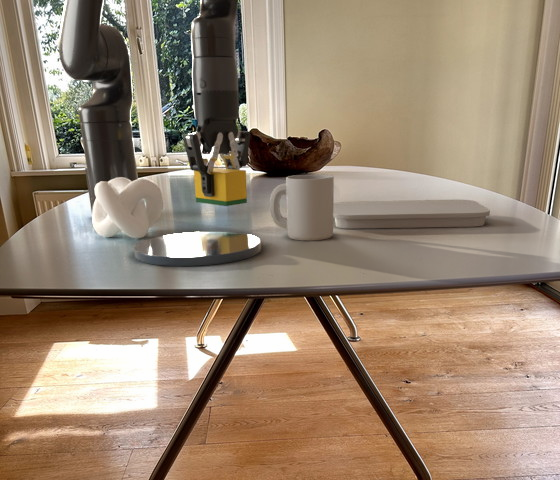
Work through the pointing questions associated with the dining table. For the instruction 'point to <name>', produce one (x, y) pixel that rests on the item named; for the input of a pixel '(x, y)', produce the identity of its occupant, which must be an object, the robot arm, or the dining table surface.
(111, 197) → the white knot sculpture
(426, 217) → the grey flat slab
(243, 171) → the sponge
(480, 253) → the dining table surface
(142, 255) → the plate
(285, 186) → the cup
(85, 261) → the dining table surface
